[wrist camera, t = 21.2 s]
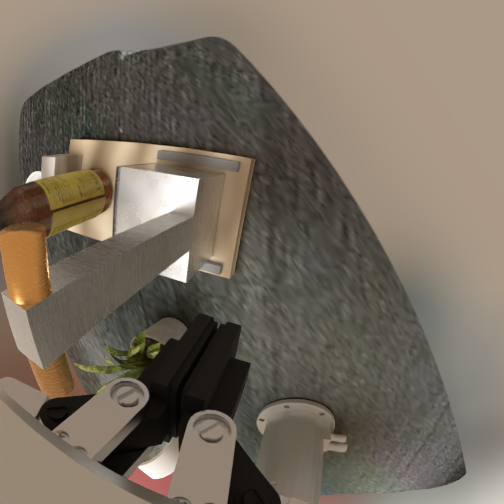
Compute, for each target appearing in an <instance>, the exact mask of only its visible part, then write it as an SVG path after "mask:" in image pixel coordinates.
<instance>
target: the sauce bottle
mask: <svg viewBox="0 0 504 504" xmlns="http://www.w3.org/2000/svg"><path fill="white" fill-rule="evenodd" d="M111 195H112V189H111V184H110V182H109V179H108V177H107V176H106V175H105V173H103V172H102V171H100V170H98V169H84V170H79V171H74V172H69V173H65V174H60V175H56V176H51V177H47V178H43V179H39V180H35V181H31V182H28V183H26V184H24V185H21V186H18V187H14V188H13V189H12V190H11V191H10V192H9V193H8V194H7V195H6V196H5V197H3V198H2V199H1V200H0V231H1V230H2V229H4V228H5V227H8V226H10V225H13V224H17V223H24V222H35V223H40V224H42V225H44V226H45V231H46V238H49V237H51V236H53V235H55V234H57V233H59V232H62V231H64V230H66V229H69V228H71V227H73V226H76V225H78V224H81V223H83V222H86V221H88V220H90V219H93V218H96V217H97V216H98V215H99V214H101V213H103V212H104V211H106V210H107V209H108V207H109V204H110V201H111Z"/></svg>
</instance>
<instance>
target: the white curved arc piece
mask: <svg viewBox="0 0 504 504" xmlns="http://www.w3.org/2000/svg"><path fill="white" fill-rule="evenodd" d="M178 456H179V447H178V437H177V438H175V437H172V439H171V440H170V442H169V443H168V442H167V444H166V446H165V447H164V448H163V450H162V451H161V452H160V453H159V454H158V455H157V456H155V457H154V458H152V459H151V460H149V461H146V462H143V463H141V464H140V465H139V466H138V468H139V469H141V470H142V471H143V472H144V473H146V474H147V475H149V476H150V477H151V478H152V479H159V478H163V477H165V476H168V475H169V474H171V473H172V472H174V470H175V466H176V463H177V459H178Z"/></svg>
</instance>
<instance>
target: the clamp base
mask: <svg viewBox="0 0 504 504" xmlns="http://www.w3.org/2000/svg"><path fill="white" fill-rule="evenodd" d="M147 163H158V164H165V165H172V166H178V167H185V168H191V169H197V170H203V171H208V172H214V173H219V174H225V177H224V182H223V188H222V194H221V200H220V206H219V212H218V219H217V225H216V232H215V238H214V245H213V252H212V258H211V259H210V260H209V261H208V262H207V263H206V264H205V265H204V266H203V267H202V268H201V269H200V271H204V272H207V273H211V274H214V275H218V276H222V277H225V278H229V279H230V278H231V276H232V275H233V273H234V272H235V266H236V261H237V255H238V250H239V244H240V239H241V233H242V228H243V223H244V217H245V212H246V206H247V201H248V196H249V191H250V185H251V180H252V175H253V170H254V164H255V159H252V158H247V157H242V156H236V155H230V154H224V153H218V152H211V151H205V150H198V149H191V148H183V147H175V146H167V145H157V144H147V143H136V142H124V141H109V140H88V139H71V140H70V149H69V154H60V155H50V156H42V171H41V179H43V178H47V177H51V176H56V175H60V174H65V173H69V172H74V171H79V170H84V169H98V170H100V171H102V172H103V173H105V175H106V176H107V177H108V179H109V182H110V184H111V189H112V195H111V201H110V204H109V207H108V209H107V210H106V211H104V212H103V213H101V214H99V215H98V216H97V217H96V218H93V219H90V220H88V221H86V222H83V223H81V224H78V225H76V226H73V227H71V228H69V229H67V230H70V231H73V232H76V233H79V234H82V235H85V236H88V237H91V238H94V239H97V240H100V241H103V240H105V239H108V238H110V237H112V230H113V205H114V190H115V178H116V168H117V166H124V165H135V164H147Z"/></svg>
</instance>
